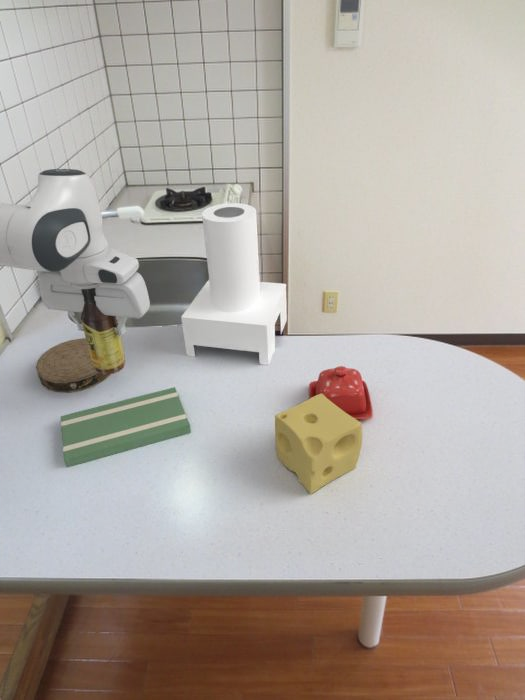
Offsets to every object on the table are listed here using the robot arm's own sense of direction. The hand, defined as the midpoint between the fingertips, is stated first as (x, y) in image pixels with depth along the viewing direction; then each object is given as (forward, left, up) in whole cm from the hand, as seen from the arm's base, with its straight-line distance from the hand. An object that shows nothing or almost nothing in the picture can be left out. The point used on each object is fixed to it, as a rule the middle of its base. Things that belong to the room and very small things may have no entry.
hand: (102, 331), depth 99 cm
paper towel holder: (+19, +25, -15) cm, 34 cm away
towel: (+7, -9, -15) cm, 19 cm away
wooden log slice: (-12, +6, -15) cm, 20 cm away
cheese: (+43, -10, -15) cm, 46 cm away
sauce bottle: (0, 0, -9) cm, 9 cm away
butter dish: (+44, +6, -15) cm, 47 cm away
